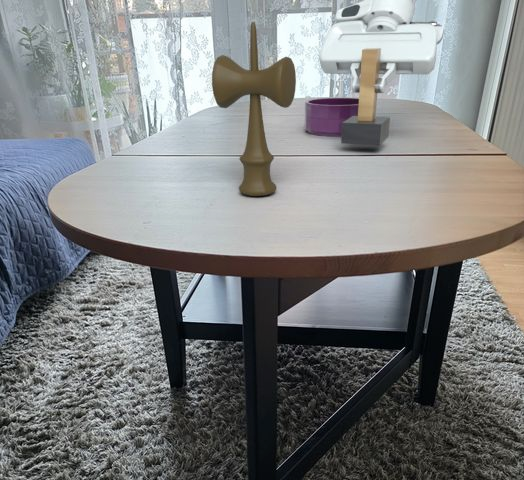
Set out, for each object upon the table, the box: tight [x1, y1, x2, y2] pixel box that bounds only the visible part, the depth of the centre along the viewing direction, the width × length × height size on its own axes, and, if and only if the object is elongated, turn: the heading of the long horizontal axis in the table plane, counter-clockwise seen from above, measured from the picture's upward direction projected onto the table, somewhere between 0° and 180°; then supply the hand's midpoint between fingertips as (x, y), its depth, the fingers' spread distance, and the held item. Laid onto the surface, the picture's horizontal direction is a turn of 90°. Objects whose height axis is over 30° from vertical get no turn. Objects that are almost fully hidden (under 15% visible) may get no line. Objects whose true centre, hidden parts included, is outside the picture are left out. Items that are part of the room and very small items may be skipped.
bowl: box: [304, 97, 359, 137], centre depth 111 cm, size 14×14×6 cm
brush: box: [340, 48, 391, 146], centre depth 89 cm, size 7×7×14 cm
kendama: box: [211, 21, 297, 197], centre depth 65 cm, size 6×10×20 cm, turn 68°
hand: (367, 90), depth 88 cm, fingers closed on brush, 2 cm apart
